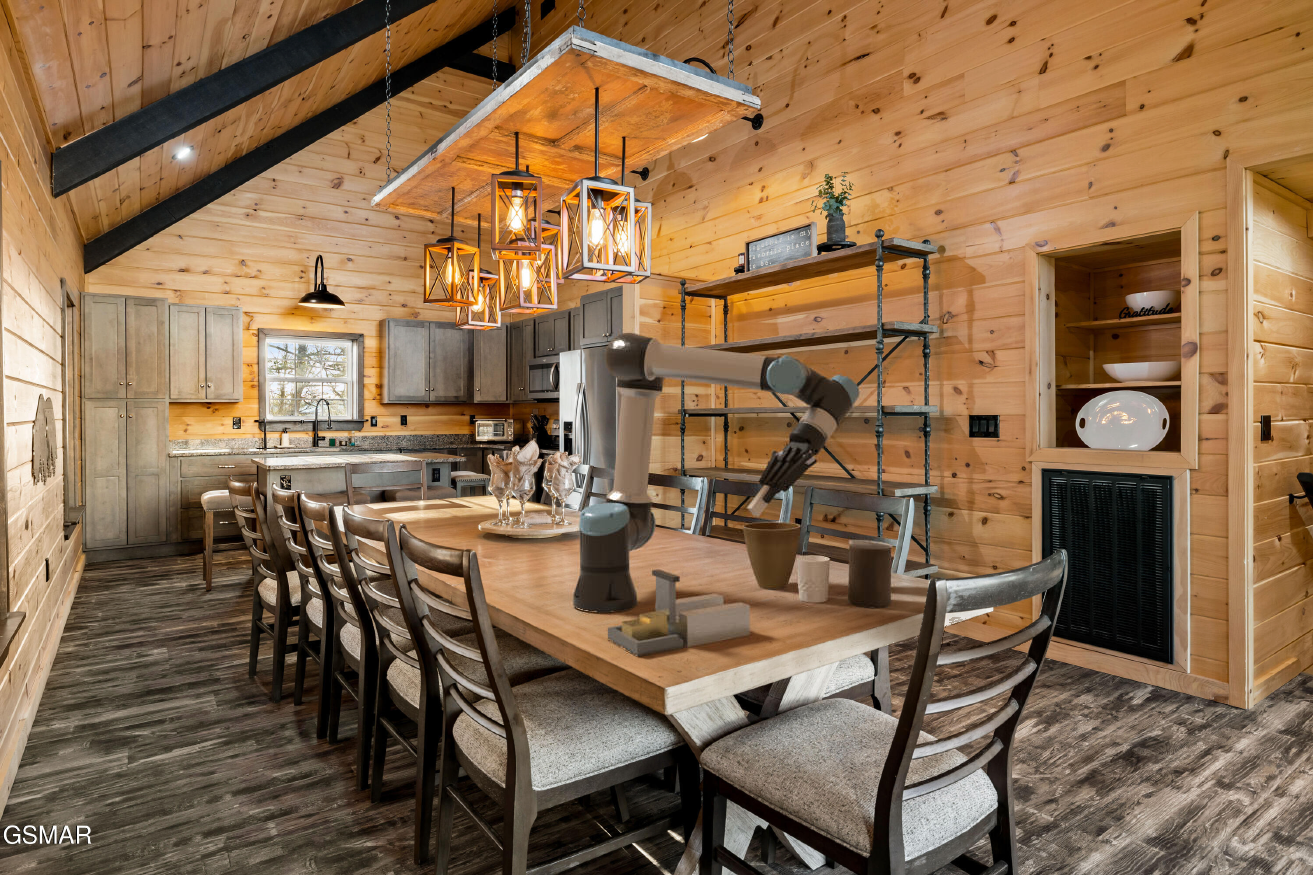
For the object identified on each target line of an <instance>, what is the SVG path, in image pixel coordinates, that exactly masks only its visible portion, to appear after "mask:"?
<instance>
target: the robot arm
mask: <svg viewBox="0 0 1313 875" xmlns="http://www.w3.org/2000/svg"><path fill="white" fill-rule="evenodd" d="M604 362H605V365H606V368H607V370H608V371H609V373H610V374H611V375H612V376H613V377H614V378H616V386H615V389H616V390H617V392H619V394H620V395H621V396H620V397H621V400H620V410H619V411H620V413H619V423H618V430H617V431H618V435H617V444H616V454H615V468H614V478H613V489H612V490H611V491H610V492H609V493H607V495H606V498H605V502H604V503H598V504H593V505H589V506H586V507H585V508H583V509H582V510H581V512H580V514H579V523H578V528H579V567H580V568H579V571H580V573H579V576H578V580H577V582H576V586H575V589H574V592H573V595H572V606H573V605H574V606H575V607H577V608H580V609H583V610H588V611H597V612H596V613H598V612H606V613H612V612H611V611H618V612H623V611H628V610H632V609H634V608H635V607H637V606H638V594H637V591H636V588H635V584H634V581H633V578H632V575H631V572H630V552H633V551H635V550H638V549H641V548H643V546H645V545H646V544H647V543H648V542H649V541H650V540H651V538H652V537H653V535H654V534H655V531H656V530H655V529H656V517H655V515H654V513H653V511H652V504H653V498H651V497H650V495H649V494H648V486H649V485H648V484H649V483H648V482H649V472H650V464H651V463H650V461H651V450H652V443H653V442H652V440H653V430H654V429H653V428H654V418H655V410H656V399H657V398H658V397H659V396H660V395H661V394H663V388H664V387H663V386H664V380H665V379H670V380H671V379H672V380H679V381H686V382H687V381H688V382H695V383H702V384H711V385H719V386H725V387H732V388H739V389H740V388H742V389H748V390H755V391H764V392H770V393H775V394H776V393H777V394H782V395H789V396H792V397H794V398H796V399H797V400H798V401H801V402H802V403H803V404H806V405H807V406H809V408H808V409H807V411H805V413H804V415H803V416H802V417H801V419H800V420H799V422H798V423H797V424H796V425H795V427H794V428H793V429H792V431H791V432H790V433H789V436H788V437H789V438H788V439H789V442H788V444H786V445H785V446H784V447H783V449H782V451H779V452H778V451H777V450H774V451H772V453H771V455H770V459H769V461H768V463H767V465H766V467H765V469H764V471H763V473H762V475H761V476H760V478H759V479H758V483H759V484H760V485H761V488H760V489H759V490H758V492H757V493H756V495H755V496H754V498H753V499H752V500H751V502H750V503H749V505H748V506H747V507H746V508H747V509H748V511H749V512H750V513H751V514H752V516H753V517H757V518H759V517H760V515H761V514H762V513H763V511H764V510H765V509H766V508H767V506H768V505H769V504H770V503H771V501H772V500H773V499H774V498H775V496H776V495H777V494H780V493H781V492H783V493H786V492H787V491H788V490H789V489H790V488H791V487H792V486H793V485H795V483H796V482H797V481H799V479H800V478H801V477H802V476H803V475H804V474H805V473H806V472H807V471H808V470H809V469H810V468H811V467H813V466H815V464H817V462H818V460H817V459H816V457H815V456H817V455H818V454H819V453H820V452H821V450H822V449H823V448H824V446H825V445H826V442H828V440H829V439H830V438H831V436H832V434H834V432H835V430H837V428H838V427H839V425H840V424H841V423H842V422H843V420H845V417H846V416H847V415H848V414H849V412H851V410H852V408H853V407H854V405H855V404H856V402H857V400H858V398H859V397H860V389H859V386H858V384H857V383H856V382H855V381H854V380H853V379H851V378H850V377H848V376H844V375H842V374H837V375H834V376H832V377H831V378H830V379H829V378H828V377H827V376H823V375H822V374H820V373H819V372H818V371H816V370H815V369H812V368H811V367H809V366H808V365H806V364H805V363H803V362H802V361H800V360H799V359H796V358H794V357H792V356H790V355H788V354H787V355H783V356H782V357H775V356H774V357H773V356H766V355H758V354H751V353H741V352H735V351H734V352H732V351H725V350H716V349H708V348H699V347H698V348H697V347H691V346H682V345H673V344H665V343H661V342H660V341H659V340H658V339H657V338H653V337H648V336H645V335H641V334H638V333H633V332H624V333H620V334H618V335H616V336H614V337H613V338H612V339H611V340H610V341H609V343H608V344H607V346H606V349H605V352H604Z"/></svg>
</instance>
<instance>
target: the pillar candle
mask: <svg viewBox="0 0 1313 875" xmlns="http://www.w3.org/2000/svg"><path fill="white" fill-rule="evenodd" d="M868 541H869V543H863V542H858V543H851V544H849V543H848V546H849V547H848V593H847V594H848V595H847V596H848V597H847V599H848V602H849V604H851V605H854V606H857V607H865V608H869V607H881V608H887V607H886V606H888V607H890V606H891V605H892V548H891V546H890V545H891V544H890V545H886V544H879V543H870V541H871V539H868ZM890 604H891V605H890ZM889 605H890V606H889Z"/></svg>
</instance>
